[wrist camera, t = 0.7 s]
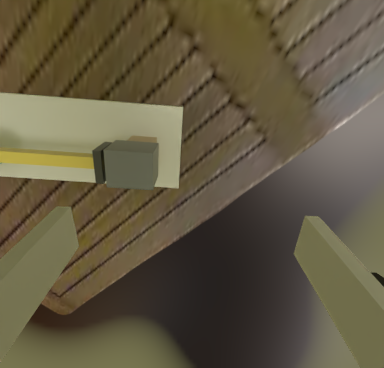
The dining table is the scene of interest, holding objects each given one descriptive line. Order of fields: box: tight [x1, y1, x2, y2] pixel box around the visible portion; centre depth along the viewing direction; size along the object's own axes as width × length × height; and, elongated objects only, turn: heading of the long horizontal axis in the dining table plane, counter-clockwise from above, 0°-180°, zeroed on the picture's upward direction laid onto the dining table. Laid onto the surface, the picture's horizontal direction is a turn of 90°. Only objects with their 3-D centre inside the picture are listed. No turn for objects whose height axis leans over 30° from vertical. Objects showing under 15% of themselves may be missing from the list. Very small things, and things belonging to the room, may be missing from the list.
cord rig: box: [0, 92, 183, 190], centre depth 33 cm, size 14×42×12 cm, turn 86°
